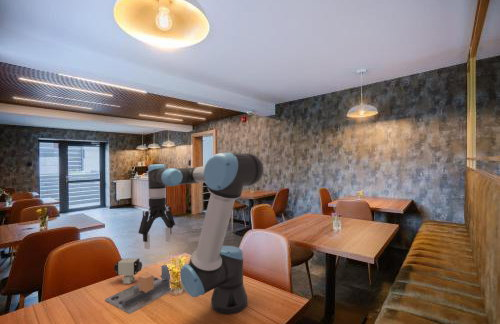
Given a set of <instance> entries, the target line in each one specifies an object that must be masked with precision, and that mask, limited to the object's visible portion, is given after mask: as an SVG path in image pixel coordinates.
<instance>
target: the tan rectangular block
mask: <svg viewBox="0 0 500 324" xmlns="http://www.w3.org/2000/svg"><path fill="white" fill-rule="evenodd" d="M154 277H155V274H152V273H149V272H145V273H142V274H140V275H138V284H139V290H141V291H143V292H145V293H146V292H148V291H150V290H152V289H154Z"/></svg>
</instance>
